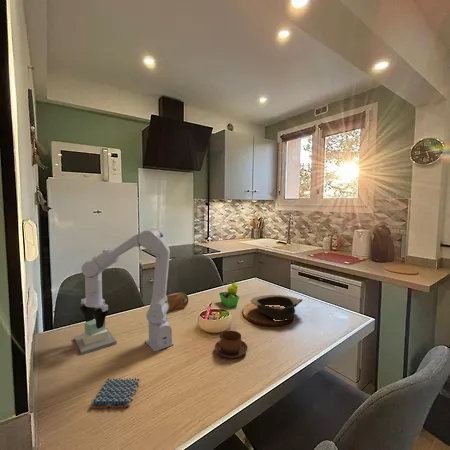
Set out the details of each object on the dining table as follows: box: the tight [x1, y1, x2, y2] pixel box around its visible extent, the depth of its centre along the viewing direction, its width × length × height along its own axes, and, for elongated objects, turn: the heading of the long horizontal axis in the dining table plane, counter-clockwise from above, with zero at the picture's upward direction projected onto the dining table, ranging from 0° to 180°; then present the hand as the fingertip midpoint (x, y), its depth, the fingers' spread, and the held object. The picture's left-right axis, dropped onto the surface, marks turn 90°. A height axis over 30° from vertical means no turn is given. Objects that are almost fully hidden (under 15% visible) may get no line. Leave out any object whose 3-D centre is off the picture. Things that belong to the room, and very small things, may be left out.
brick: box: [84, 318, 107, 336], centre depth 101 cm, size 4×6×4 cm, turn 149°
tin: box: [166, 291, 189, 314], centre depth 133 cm, size 15×3×8 cm, turn 125°
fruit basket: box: [218, 282, 240, 308], centre depth 141 cm, size 11×9×11 cm
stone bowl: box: [250, 294, 303, 320], centre depth 129 cm, size 25×25×9 cm
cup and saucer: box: [214, 330, 249, 359], centre depth 95 cm, size 12×12×6 cm
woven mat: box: [90, 378, 140, 409], centre depth 73 cm, size 10×11×2 cm
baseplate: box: [73, 327, 117, 356], centre depth 101 cm, size 14×12×4 cm
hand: (94, 325), depth 101 cm, fingers open, 6 cm apart
